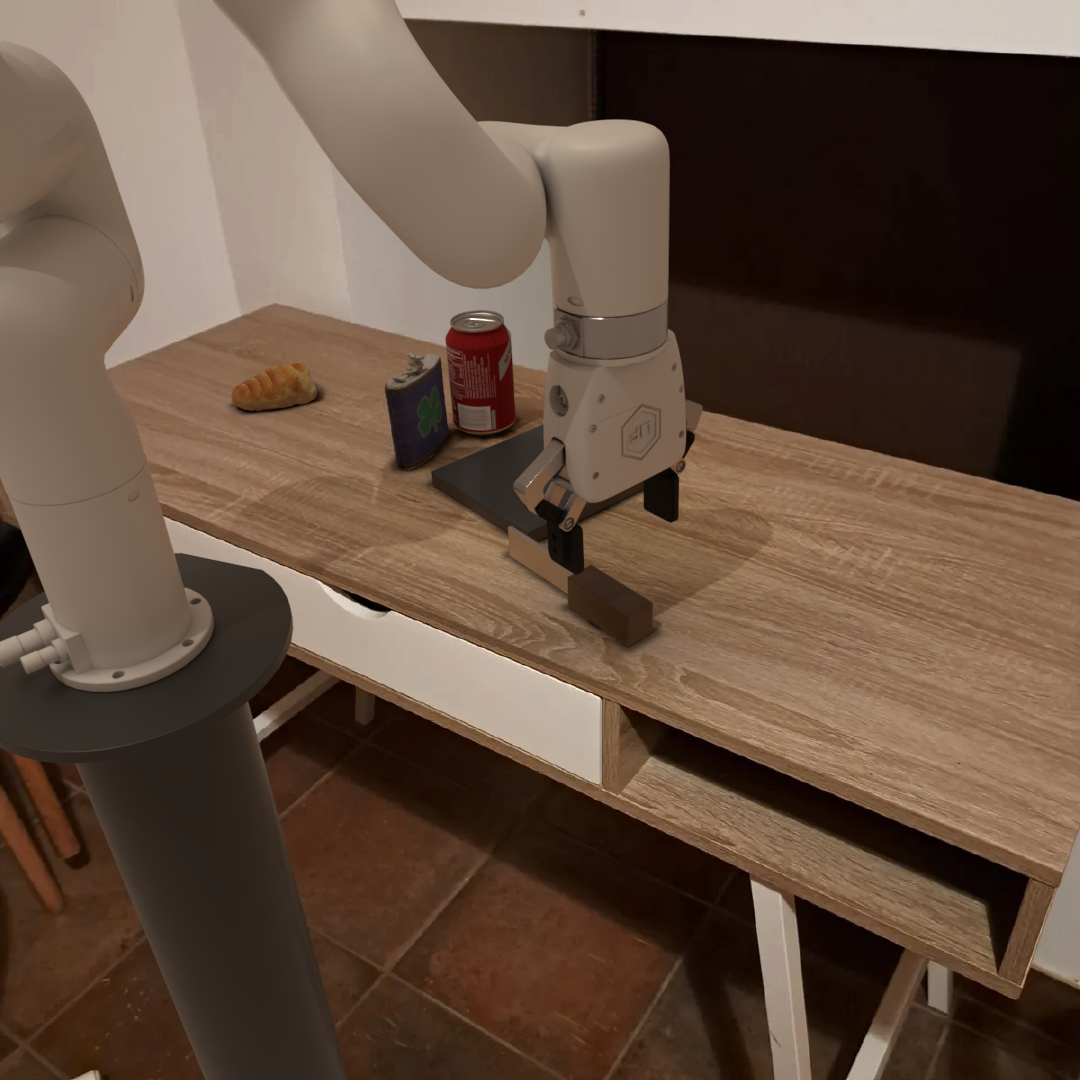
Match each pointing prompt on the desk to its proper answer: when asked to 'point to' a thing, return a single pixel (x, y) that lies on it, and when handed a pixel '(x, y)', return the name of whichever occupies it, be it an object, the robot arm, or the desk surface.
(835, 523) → the desk surface
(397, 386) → the flask
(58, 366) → the robot arm
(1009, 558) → the desk surface
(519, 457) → the board
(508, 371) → the soda can
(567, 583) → the knife
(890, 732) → the desk surface
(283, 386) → the pastry
